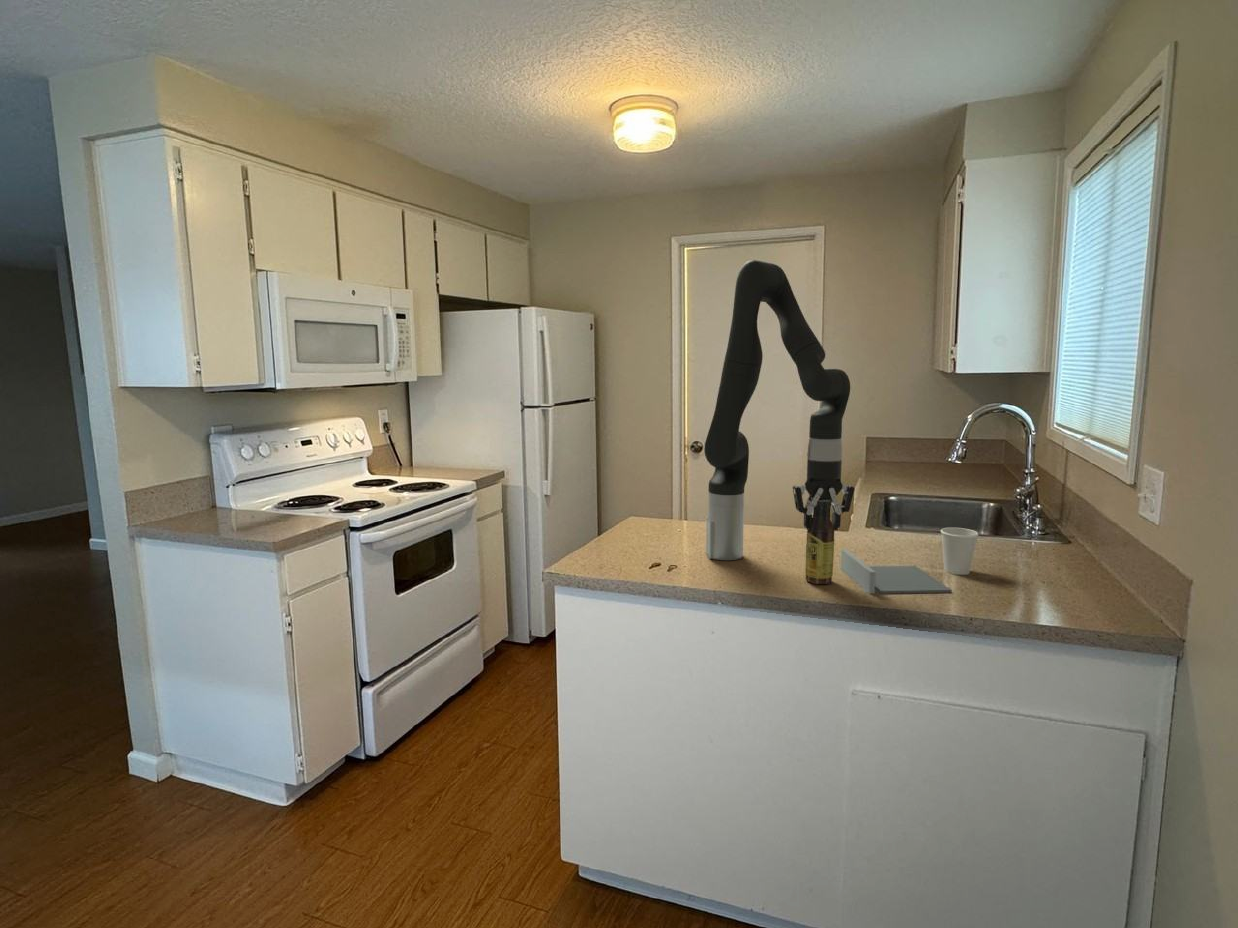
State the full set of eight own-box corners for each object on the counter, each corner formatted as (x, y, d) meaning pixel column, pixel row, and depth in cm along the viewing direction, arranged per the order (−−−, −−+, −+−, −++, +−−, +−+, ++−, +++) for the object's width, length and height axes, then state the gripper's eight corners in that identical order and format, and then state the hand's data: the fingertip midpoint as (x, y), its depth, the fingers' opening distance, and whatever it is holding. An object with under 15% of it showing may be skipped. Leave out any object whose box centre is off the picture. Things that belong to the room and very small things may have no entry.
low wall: (869, 593, 157) (870, 572, 156) (840, 569, 175) (841, 549, 174) (874, 593, 157) (875, 572, 156) (845, 569, 175) (846, 549, 174)
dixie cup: (973, 567, 176) (976, 528, 174) (978, 578, 168) (981, 537, 166) (936, 564, 178) (939, 526, 177) (939, 574, 170) (942, 534, 169)
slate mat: (880, 593, 157) (880, 591, 157) (851, 569, 175) (851, 566, 175) (951, 592, 158) (951, 589, 158) (914, 568, 176) (915, 565, 176)
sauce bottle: (801, 577, 169) (803, 496, 166) (826, 576, 169) (829, 495, 166) (810, 586, 162) (813, 501, 159) (837, 585, 163) (840, 500, 160)
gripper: (798, 460, 157) (795, 534, 160) (861, 459, 158) (858, 533, 160) (788, 455, 165) (786, 526, 167) (849, 454, 165) (846, 525, 168)
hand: (821, 529), depth 164 cm, fingers closed on sauce bottle, 5 cm apart
